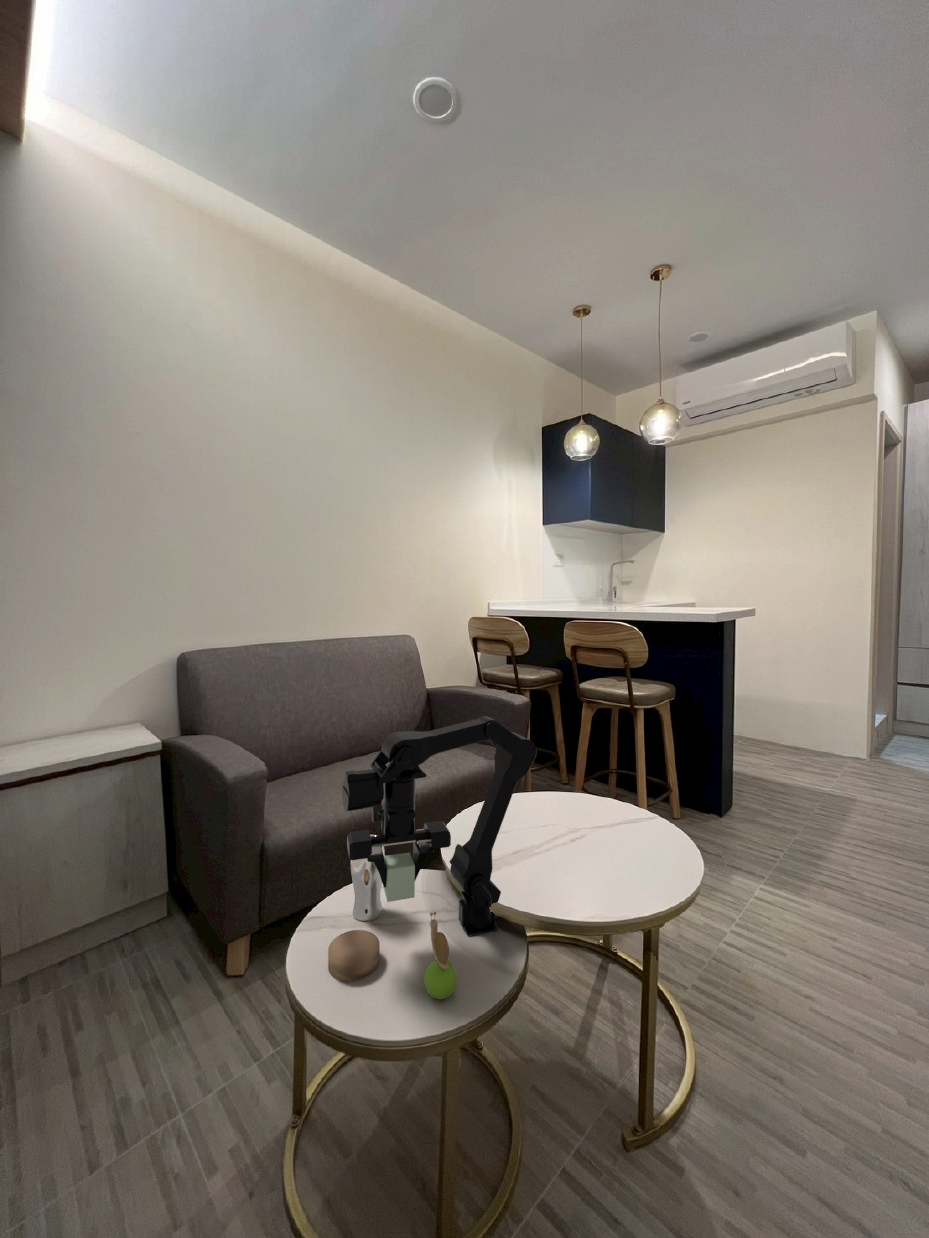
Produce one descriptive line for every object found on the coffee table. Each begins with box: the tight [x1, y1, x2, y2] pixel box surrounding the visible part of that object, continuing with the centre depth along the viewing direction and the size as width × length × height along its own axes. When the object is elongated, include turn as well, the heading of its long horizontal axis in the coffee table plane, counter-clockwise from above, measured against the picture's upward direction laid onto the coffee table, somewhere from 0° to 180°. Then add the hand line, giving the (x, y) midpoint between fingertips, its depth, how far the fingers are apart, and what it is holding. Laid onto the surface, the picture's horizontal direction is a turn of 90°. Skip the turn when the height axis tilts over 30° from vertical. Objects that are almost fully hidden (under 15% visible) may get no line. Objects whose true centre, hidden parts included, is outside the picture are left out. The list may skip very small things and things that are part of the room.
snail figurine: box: [423, 911, 458, 1000], centre depth 83 cm, size 5×6×12 cm
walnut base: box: [327, 929, 380, 983], centre depth 90 cm, size 9×9×3 cm
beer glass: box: [350, 834, 386, 922], centre depth 104 cm, size 7×7×15 cm
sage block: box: [383, 852, 416, 903], centre depth 94 cm, size 5×5×6 cm
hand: (398, 883), depth 94 cm, fingers closed on sage block, 5 cm apart
